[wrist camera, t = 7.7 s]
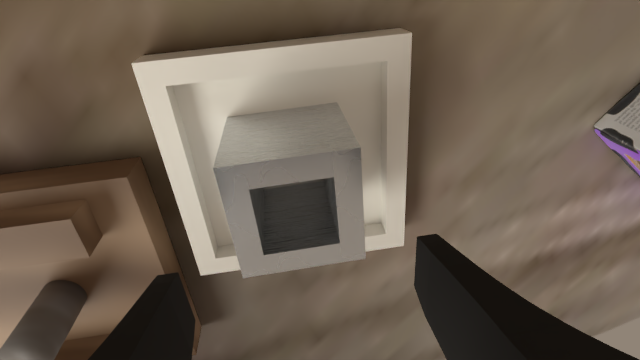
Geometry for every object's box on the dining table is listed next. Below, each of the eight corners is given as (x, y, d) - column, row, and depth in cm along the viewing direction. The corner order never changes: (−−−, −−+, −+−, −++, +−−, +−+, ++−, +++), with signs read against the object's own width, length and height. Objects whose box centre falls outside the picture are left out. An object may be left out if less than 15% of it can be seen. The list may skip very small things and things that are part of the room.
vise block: (205, 337, 24) (190, 427, 19) (45, 363, 24) (-12, 462, 19) (140, 156, 18) (93, 226, 13) (-84, 184, 17) (-220, 268, 12)
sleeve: (344, 194, 20) (365, 258, 15) (248, 208, 19) (243, 278, 15) (337, 102, 17) (360, 147, 13) (226, 117, 17) (213, 168, 12)
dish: (395, 229, 22) (403, 245, 20) (204, 256, 21) (200, 275, 20) (400, 27, 16) (412, 32, 15) (142, 55, 16) (131, 63, 14)
